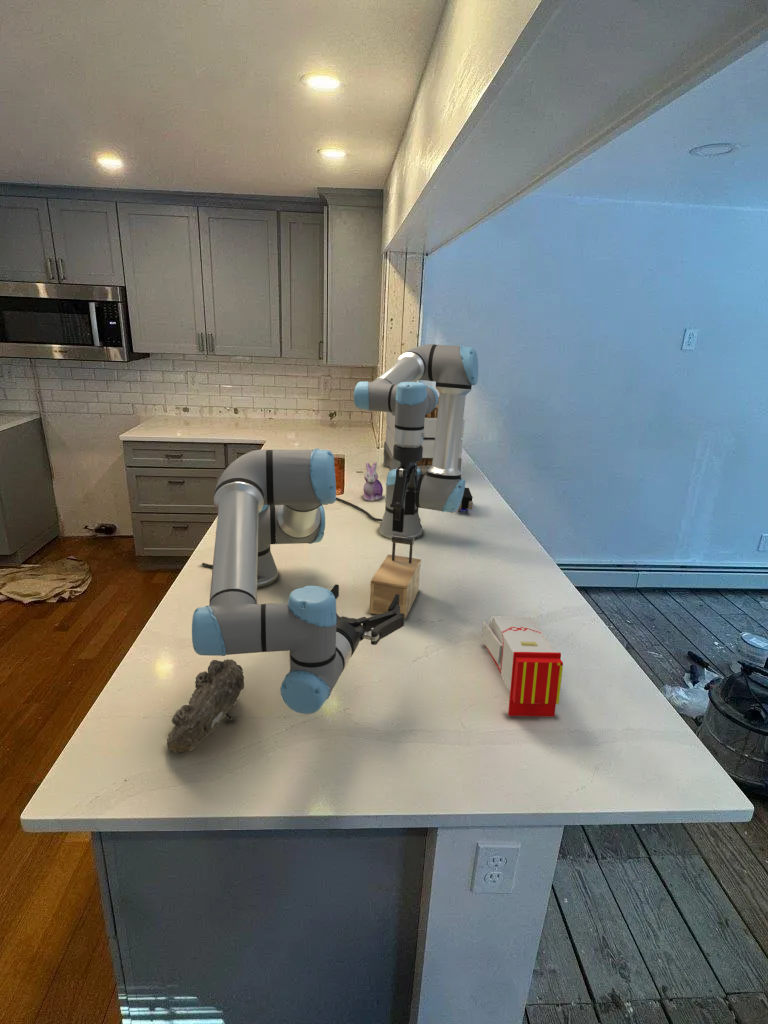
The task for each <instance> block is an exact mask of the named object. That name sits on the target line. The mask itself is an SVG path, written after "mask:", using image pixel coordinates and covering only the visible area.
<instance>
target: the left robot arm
mask: <svg viewBox="0 0 768 1024" xmlns="http://www.w3.org/2000/svg"><path fill="white" fill-rule="evenodd" d="M336 479H337V478H336V468H335V456H334V453H333V452H332V451H331V450H329V449H320V448H314V449H255V450H252V451H251V450H250V451H248V452H246V453H244V454H242V455H241V456H239V457H238V458H236V459H235V460H234V461H232V462H231V463H230V464H229V465H228V466H227V467H226V468H225V470H224V471H223V472H222V474H221V475H220V476H219V478H218V480H217V482H216V485H215V488H214V493H213V505H214V508H215V510H216V511H217V518H216V529H215V539H214V551H213V559H212V564H209V563H207V562H206V563H205V562H202V563H201V566H203V567H207V568H211V569H212V570H211V582H210V591H209V601H208V602H209V604H208V605H205V606H201V607H197V608H195V610H194V612H193V614H192V619H191V620H192V621H191V622H192V623H191V640H192V641H191V642H192V648H193V650H194V652H195V654H197V655H198V656H209V657H210V656H211V657H214V656H216V657H217V656H220V657H226V656H230V655H231V656H232V655H242V654H255V653H274V652H275V653H276V652H289V670H288V672H287V673H286V674H285V676H284V678H283V681H282V683H281V685H280V689H279V690H280V691H279V693H280V696H281V699H282V701H283V703H284V704H285V706H287V708H289V709H290V710H292V711H293V712H295V713H297V714H303V715H311V714H314V713H316V712H319V710H320V709H321V708H322V707H323V705H324V704H325V703H326V702H327V700H328V699H329V698H330V696H331V693H332V692H333V690H334V688H335V686H336V684H337V682H338V681H339V679H340V677H341V675H342V673H343V672H344V671H345V668H346V667H347V665H348V663H349V662H350V660H351V658H352V656H353V655H354V653H355V651H356V650H357V649H358V646H359V644H360V642H361V641H363V640H367V641H368V640H369V641H370V645H372V646H376V645H378V643H379V642H380V641H381V640H382V639H384V638H386V637H388V636H389V635H391V634H392V633H395V632H396V631H398V630H399V629H401V628H403V627H405V619H404V616H405V615H404V614H403V613H400V605H399V595H398V594H396V595H395V597H394V599H393V601H392V603H391V604H390V606H389V608H388V612H385V613H382V614H379V615H378V614H375V615H373V616H369V617H366V616H362V617H359V618H353V617H348V616H343V615H342V616H339V614H338V613H337V599H338V598H339V596H340V595H339V594H340V584H337V583H336V584H334V586H333V587H332V588H331V589H328V588H326V587H323V586H319V585H305V586H303V587H298V588H296V589H293V591H291V592H290V594H289V596H288V600H287V602H275V603H258V588H263V587H266V586H269V585H272V584H273V583H274V582H275V581H276V580H277V579H278V568H277V565H276V562H275V559H274V557H273V554H272V551H271V545H295V544H309V545H312V544H316V543H320V542H321V541H322V540H323V539H324V536H325V530H326V512H325V507H324V506H328V505H332V504H334V503H336V501H337V500H336V497H337V481H336Z"/></svg>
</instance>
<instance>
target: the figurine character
mask: <svg viewBox="0 0 768 1024" xmlns="http://www.w3.org/2000/svg"><path fill="white" fill-rule="evenodd" d="M473 507H474V501H473V495H472V493H471V489H470V488H469V487H465V490H464V494H463V497H462V500H461V503H460V506H459V508H458V509H457V510H456V511H458V513H459V514H462V512H464V511H465V514H469V511H473Z"/></svg>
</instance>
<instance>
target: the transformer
mask: <svg viewBox="0 0 768 1024" xmlns="http://www.w3.org/2000/svg"><path fill="white" fill-rule="evenodd" d="M438 403H439V396H438ZM438 403H437V406H436V407H435V408H434V410H433V411H432V412H430V413H429V414H426V415H425V422H424V431H423V433H426V436H425V437H423V444H421V446H422V447H423V453H422V460H421V461H419V462H417V467H431V466H432V461H433V452H434V442H435V432H436V423H437V413H438ZM385 414H386V415H385V423H386V428H385V438H384V442H383V466H384V467H388V468H389V472H390V471H391V470H393V469H396V468H398V467H400V464H401V463H400V462H399V461H397V460H395V459H394V458H393V447H394V445H395V443H394V427H395V413H393V412H385ZM464 429H465V419H464V418H463V425H462V433H461V442H460V451H459V460H458V469H459V471H460V472H461V473H462V461H463V460H462V453H463V442H464V441H463V440H462V439H463V438H464V431H465V430H464Z"/></svg>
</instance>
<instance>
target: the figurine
mask: <svg viewBox="0 0 768 1024" xmlns="http://www.w3.org/2000/svg"><path fill="white" fill-rule="evenodd" d="M365 464H366V465H365V466H366V467H365V470H366V471H365V474H364V475H363V476H364V480H365V483H364V485H363V495H362V498H363V500H364V501H368V502H373V501H378V500H381V499H382V498H383V493H384V487H383V483H382V482H381V481H380V480H379V475H378V473H377V468H378V462H377V461H375V462H374V463H373V464H372V465H370V463H369V462H366V463H365Z"/></svg>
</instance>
